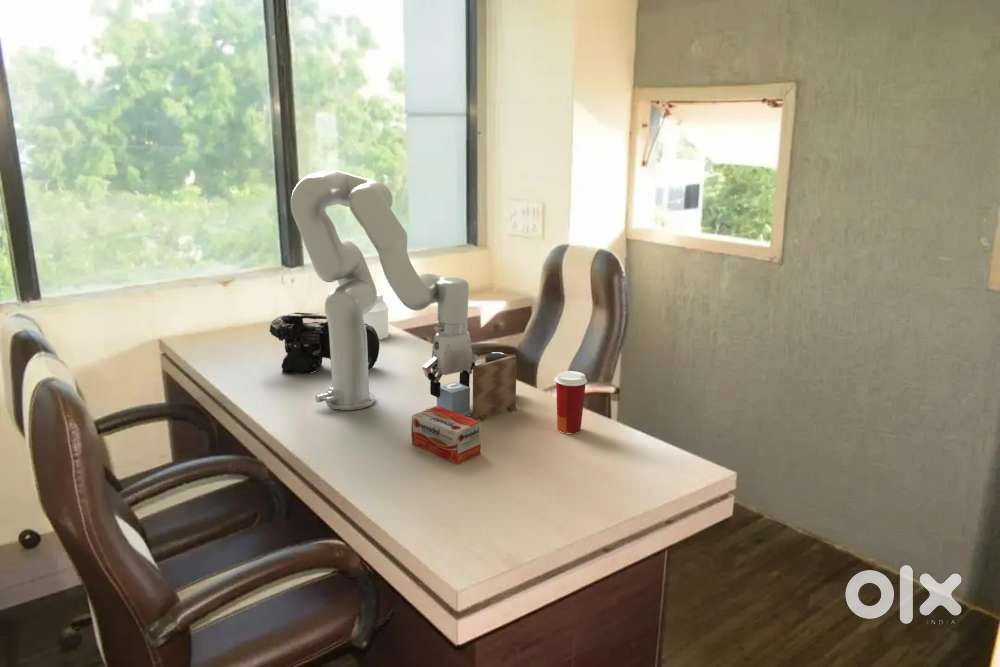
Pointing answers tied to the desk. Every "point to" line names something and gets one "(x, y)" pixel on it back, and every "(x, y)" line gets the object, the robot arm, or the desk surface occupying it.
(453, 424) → the medicine box
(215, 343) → the desk surface
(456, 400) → the letter cube
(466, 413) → the pad
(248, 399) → the desk surface
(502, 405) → the screen
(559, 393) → the paper cup
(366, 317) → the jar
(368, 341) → the movie camera
